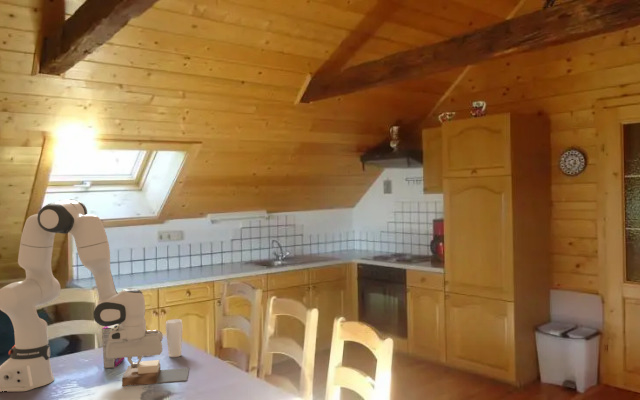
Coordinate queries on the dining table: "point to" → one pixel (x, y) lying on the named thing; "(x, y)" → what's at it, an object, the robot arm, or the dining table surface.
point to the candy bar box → (105, 337)
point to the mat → (173, 375)
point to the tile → (148, 366)
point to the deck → (138, 377)
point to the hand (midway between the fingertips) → (135, 367)
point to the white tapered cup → (174, 337)
